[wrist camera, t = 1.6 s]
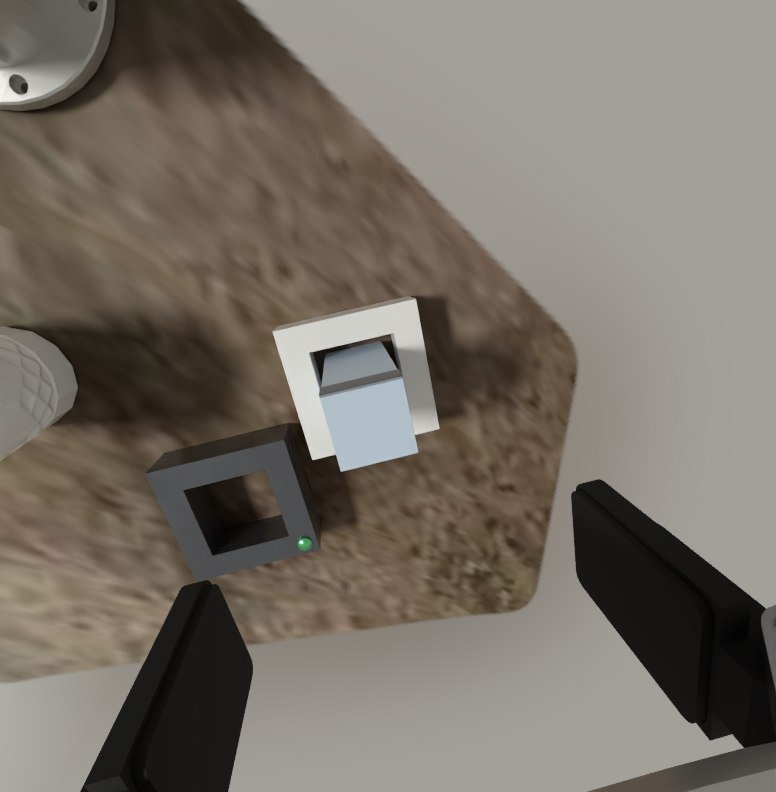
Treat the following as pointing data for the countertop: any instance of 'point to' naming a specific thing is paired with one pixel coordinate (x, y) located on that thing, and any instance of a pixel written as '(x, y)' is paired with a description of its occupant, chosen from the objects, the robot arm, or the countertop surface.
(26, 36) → the robot arm
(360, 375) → the plug
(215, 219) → the countertop surface
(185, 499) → the port
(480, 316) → the countertop surface
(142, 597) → the countertop surface
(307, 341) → the holster
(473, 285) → the countertop surface
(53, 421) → the white cup
